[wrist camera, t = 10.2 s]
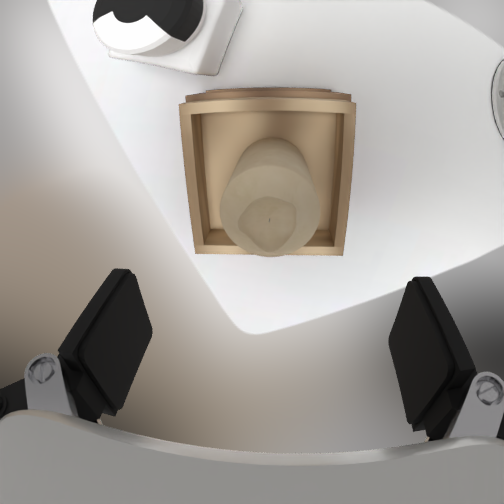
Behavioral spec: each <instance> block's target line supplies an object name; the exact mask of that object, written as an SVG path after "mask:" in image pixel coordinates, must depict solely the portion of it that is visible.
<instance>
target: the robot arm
mask: <svg viewBox="0 0 504 504" xmlns="http://www.w3.org/2000/svg"><path fill="white" fill-rule="evenodd" d="M492 102H493V110H494V116H495V119H496V123H497V126H498V128H499V131H500V133H501V135H502V137H503V138H504V60H503V61H502V62H501V64H500V65H499V67H498V69H497V71H496V74H495V77H494V81H493V89H492ZM151 337H152V326H151V323H150V320H149V317H148V314H147V311H146V308H145V305H144V302H143V299H142V295H141V292H140V289H139V285H138V282H137V279H136V276H135V274H133V273H132V272H131V271H130V270H129V269H114V270H112V271H111V273H110V274H109V275H108V277H107V278H106V280H105V281H104V282H103V284H102V285H101V286H100V288H99V289H98V291H97V292H96V294H95V295H94V296H93V298H92V299H91V301H90V302H89V303H88V305H87V307H86V308H85V310H84V311H83V312H82V314H81V315H80V317H79V318H78V320H77V321H76V323H75V324H74V326H73V327H72V329H71V330H70V332H69V333H68V335H67V337H66V338H65V340H64V341H63V343H62V344H61V346H60V348H59V349H58V351H59V355H58V357H56V356H55V355H53V354H50V353H44V354H40V355H38V356H36V357H35V358H33V359H32V360H31V361H30V362H29V364H28V365H27V367H26V370H25V378H24V379H22V380H20V381H17V382H15V383H13V384H11V385H8V386H6V387H4V388H2V389H0V504H504V382H503V381H502V380H501V378H500V377H498V376H497V375H495V374H493V373H491V372H482V373H479V374H477V372H476V369H475V365H474V363H473V361H472V358H471V356H470V354H469V351H468V349H467V347H466V345H465V343H464V341H463V338H462V336H461V334H460V332H459V330H458V328H457V326H456V324H455V322H454V320H453V318H452V316H451V314H450V313H449V310H448V308H447V307H446V305H445V303H444V301H443V299H442V298H441V295H440V293H439V292H438V290H437V288H436V286H435V285H434V283H433V281H432V279H431V278H430V277H414V278H413V279H412V281H409V282H408V283H407V286H406V289H405V293H404V295H403V298H402V302H401V304H400V307H399V311H398V313H397V316H396V319H395V322H394V324H393V327H392V330H391V332H390V335H389V348H390V352H391V355H392V359H393V363H394V367H395V370H396V374H397V378H398V382H399V387H400V391H401V395H402V400H403V404H404V409H405V413H406V418H407V422H408V423H409V424H412V428H413V432H414V431H420V430H426V434H427V438H426V440H425V441H424V443H419V444H412V445H406V446H399V447H391V448H384V449H376V450H366V451H355V452H341V453H316V454H315V453H313V454H286V453H284V454H283V453H259V452H245V451H234V450H224V449H216V448H208V447H200V446H194V445H187V444H182V443H176V442H171V441H165V440H160V439H156V438H151V437H146V436H142V435H138V434H134V433H130V432H126V431H122V430H118V429H114V428H110V427H107V426H104V425H102V422H101V420H100V416H101V414H102V413H104V414H108V415H111V416H116V413H117V411H118V410H120V409H121V408H122V407H123V405H124V402H125V399H126V397H127V395H128V392H129V390H130V387H131V384H132V382H133V380H134V377H135V375H136V373H137V370H138V367H139V365H140V363H141V361H142V358H143V356H144V353H145V351H146V349H147V346H148V344H149V342H150V339H151Z"/></svg>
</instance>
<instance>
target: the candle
mask: <svg viewBox="0 0 504 504" xmlns="http://www.w3.org/2000/svg"><path fill="white" fill-rule="evenodd" d="M220 218H221V223H222V225H223V228H224V230H225V232H226V234H227V235H228V236H229V238H230V239H231V240H232V241H233V242H234V243H235V244H236V245H238V246H239V247H240V248H242V249H243V250H245V251H247V252H249V253H252V254H255V255H259V256H265V257H277V256H283V255H287V254H290V253H292V252H294V251H296V250H298V249H300V248H301V247H303V246H304V245H305V244H306V243H307V242H308V241H309V240H310V239H311V238H312V236H313V235H314V233H315V231H316V229H317V227H318V224H319V220H320V203H319V199H318V196H317V193H316V190H315V187H314V184H313V181H312V178H311V175H310V172H309V169H308V166H307V164H306V161H305V159H304V157H303V155H302V153H301V152H300V151H299V149H298V148H297V147H296V146H294V145H293V144H291V143H290V142H288V141H286V140H283V139H279V138H264V139H261V140H258V141H256V142H254V143H252V144H251V145H250V146H248V147H247V148H246V149H245V151H244V152H243V153H242V155H241V157H240V159H239V160H238V163H237V165H236V167H235V169H234V171H233V173H232V175H231V178H230V180H229V182H228V184H227V186H226V188H225V191H224V193H223V195H222V198H221V203H220Z"/></svg>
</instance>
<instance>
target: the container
mask: <svg viewBox="0 0 504 504" xmlns="http://www.w3.org/2000/svg"><path fill="white" fill-rule="evenodd" d="M242 10H243V7H242V4H241V2H240V0H97V2H96V4H95V7H94V12H93V27H94V31H95V34H96V36H97V38H98V39H99V41H100V42H101V43H102V44H103V45H104V46H105V47H107V48H108V49H109V53H108V55H109V57H111V58H114V59H121V60H127V61H133V62H139V63H144V64H150V65H155V66H160V67H164V68H169V69H174V70H178V71H182V72H186V73H190V74H197V75H208V76H215V75H217V73H218V71H219V68H220V65H221V63H222V60H223V57H224V55H225V52H226V49H227V47H228V44H229V42H230V39H231V36H232V34H233V31H234V29H235V26H236V24H237V22H238V19H239V17H240V14H241V12H242Z"/></svg>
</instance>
